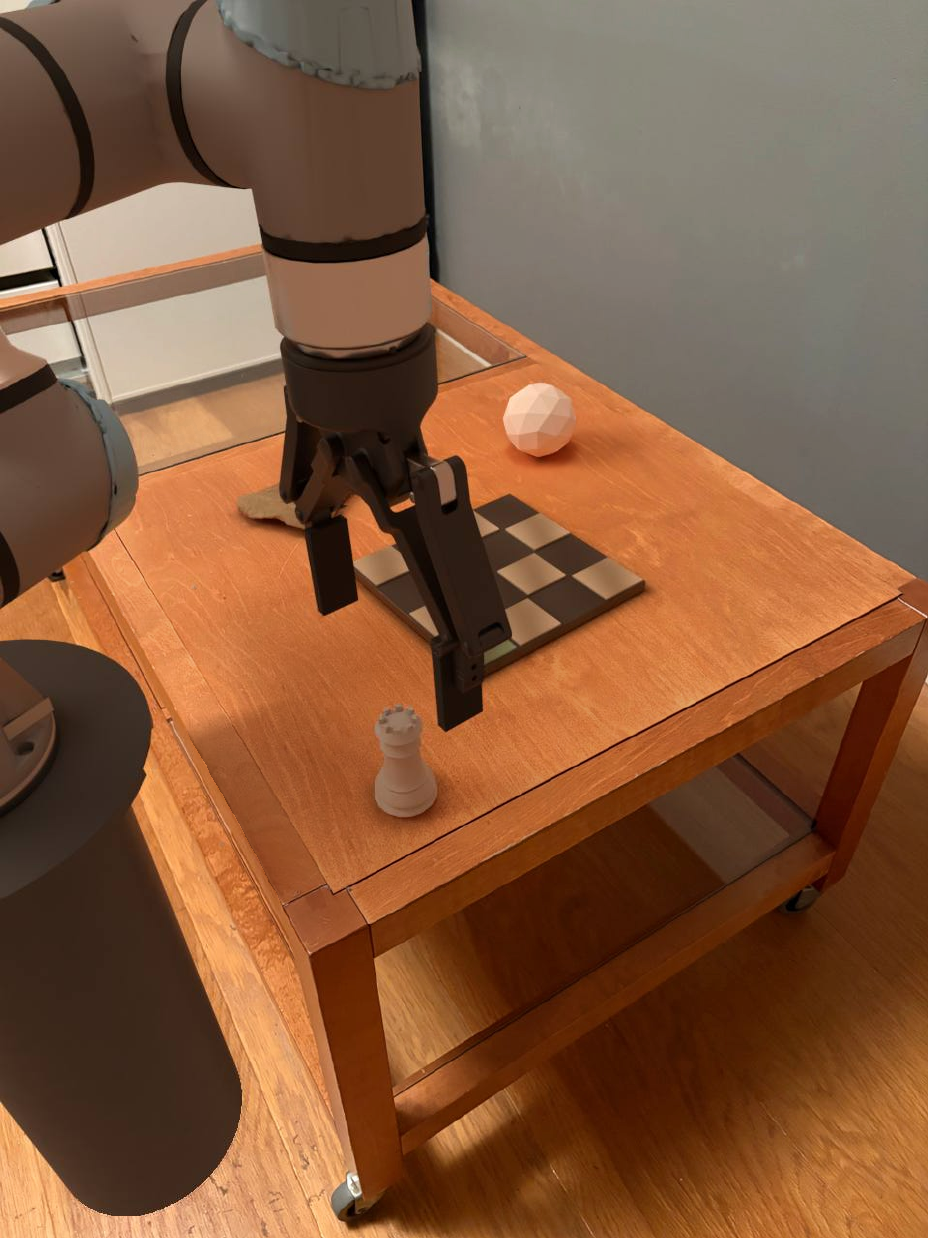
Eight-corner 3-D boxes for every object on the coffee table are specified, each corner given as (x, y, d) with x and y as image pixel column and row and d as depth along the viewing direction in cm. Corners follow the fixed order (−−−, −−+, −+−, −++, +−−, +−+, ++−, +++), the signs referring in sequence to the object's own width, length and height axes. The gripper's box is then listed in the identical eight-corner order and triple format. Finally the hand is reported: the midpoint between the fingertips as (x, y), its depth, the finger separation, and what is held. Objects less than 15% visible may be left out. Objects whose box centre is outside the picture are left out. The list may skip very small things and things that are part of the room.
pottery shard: (327, 551, 93) (372, 482, 98) (313, 520, 90) (360, 450, 95) (239, 533, 97) (287, 467, 103) (222, 502, 94) (273, 436, 99)
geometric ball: (531, 463, 108) (534, 392, 107) (588, 459, 102) (592, 385, 102) (486, 454, 102) (490, 379, 102) (545, 450, 97) (549, 371, 96)
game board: (473, 683, 76) (473, 672, 75) (349, 572, 88) (347, 562, 87) (645, 590, 84) (646, 579, 84) (509, 501, 97) (509, 491, 96)
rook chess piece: (395, 832, 65) (384, 752, 60) (363, 790, 68) (351, 711, 63) (450, 802, 67) (444, 722, 61) (417, 763, 70) (409, 684, 64)
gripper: (592, 390, 39) (575, 744, 53) (297, 247, 55) (342, 547, 68) (446, 449, 36) (468, 811, 49) (177, 279, 52) (249, 588, 65)
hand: (395, 658), depth 59 cm, fingers open, 13 cm apart
